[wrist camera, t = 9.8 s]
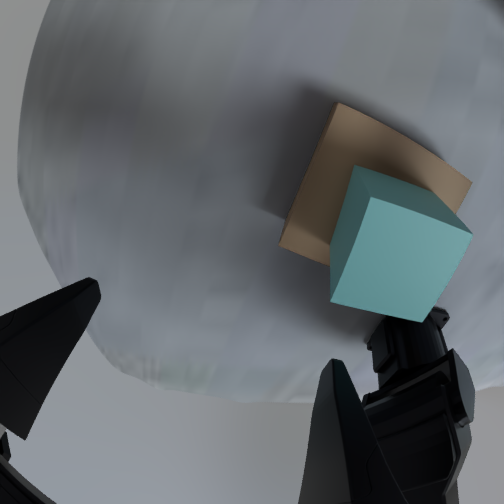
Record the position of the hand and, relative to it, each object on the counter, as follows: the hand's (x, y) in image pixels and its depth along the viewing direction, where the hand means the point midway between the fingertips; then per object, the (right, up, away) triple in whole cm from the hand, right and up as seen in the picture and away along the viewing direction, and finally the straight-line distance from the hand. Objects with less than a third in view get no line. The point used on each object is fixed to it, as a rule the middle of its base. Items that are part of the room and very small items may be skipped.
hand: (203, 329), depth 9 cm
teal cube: (+9, +4, +5) cm, 11 cm away
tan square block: (+10, +7, +8) cm, 14 cm away
